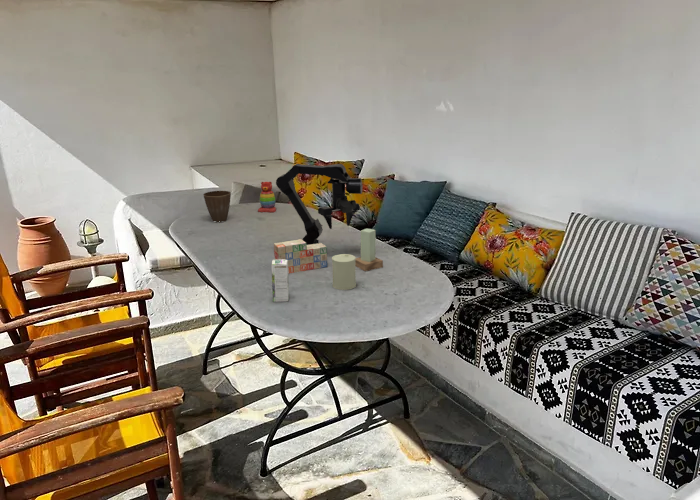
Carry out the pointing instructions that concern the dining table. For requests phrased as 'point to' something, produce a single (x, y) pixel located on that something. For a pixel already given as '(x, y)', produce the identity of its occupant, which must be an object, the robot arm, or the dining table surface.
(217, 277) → the dining table surface
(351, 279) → the can
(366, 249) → the sage post
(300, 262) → the stack of blocks
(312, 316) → the dining table surface
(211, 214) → the plant pot
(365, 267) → the walnut slab
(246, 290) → the dining table surface
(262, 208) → the stacking bear
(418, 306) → the dining table surface
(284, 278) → the syrup box
